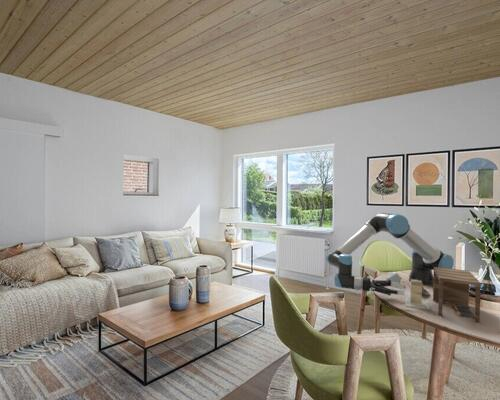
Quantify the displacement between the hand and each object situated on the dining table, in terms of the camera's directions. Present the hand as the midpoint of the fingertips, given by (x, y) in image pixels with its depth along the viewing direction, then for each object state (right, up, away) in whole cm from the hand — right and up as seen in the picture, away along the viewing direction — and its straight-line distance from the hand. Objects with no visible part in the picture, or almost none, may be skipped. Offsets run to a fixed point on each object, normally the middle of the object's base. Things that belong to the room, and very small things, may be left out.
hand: (404, 289), depth 161 cm
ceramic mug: (+17, -8, +16) cm, 24 cm away
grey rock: (+11, -7, +34) cm, 37 cm away
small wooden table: (+20, -8, -10) cm, 24 cm away
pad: (+6, -7, -2) cm, 10 cm away
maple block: (+5, -7, -2) cm, 9 cm away
